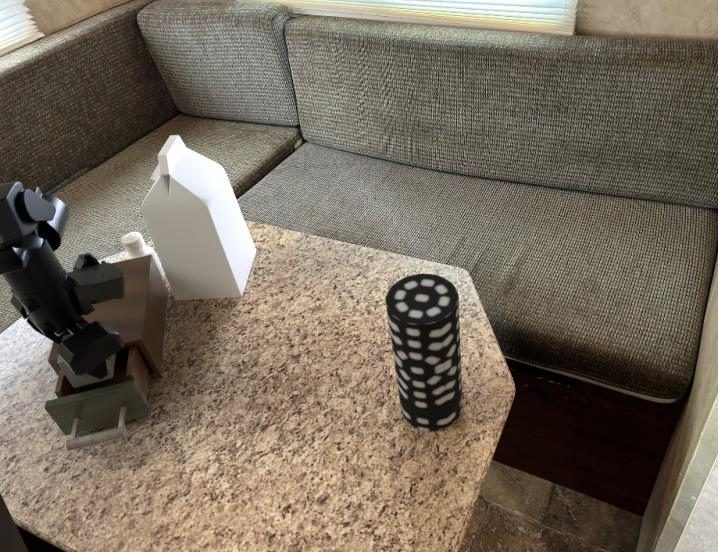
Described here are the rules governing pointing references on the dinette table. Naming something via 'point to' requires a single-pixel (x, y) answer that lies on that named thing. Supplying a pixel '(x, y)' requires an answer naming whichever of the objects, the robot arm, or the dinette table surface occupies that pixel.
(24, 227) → the robot arm
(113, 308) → the cabinet
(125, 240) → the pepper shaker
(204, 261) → the milk
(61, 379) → the drawer
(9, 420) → the dinette table surface
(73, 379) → the dice cube
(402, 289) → the spotted tube
